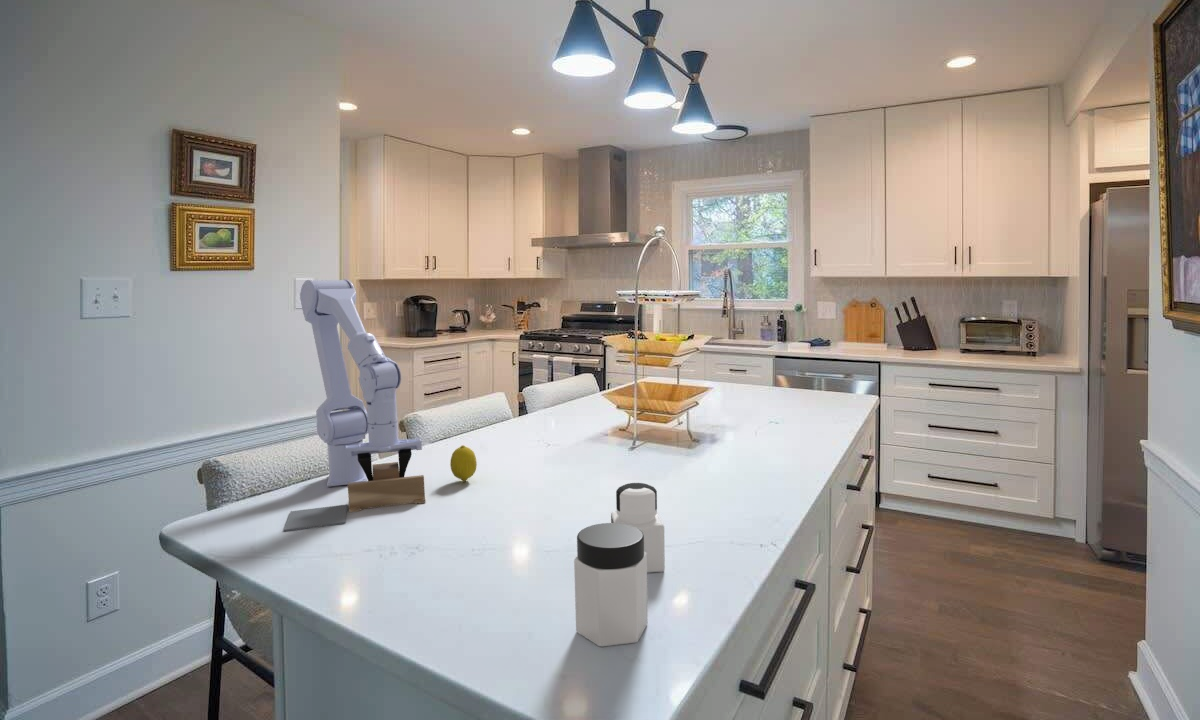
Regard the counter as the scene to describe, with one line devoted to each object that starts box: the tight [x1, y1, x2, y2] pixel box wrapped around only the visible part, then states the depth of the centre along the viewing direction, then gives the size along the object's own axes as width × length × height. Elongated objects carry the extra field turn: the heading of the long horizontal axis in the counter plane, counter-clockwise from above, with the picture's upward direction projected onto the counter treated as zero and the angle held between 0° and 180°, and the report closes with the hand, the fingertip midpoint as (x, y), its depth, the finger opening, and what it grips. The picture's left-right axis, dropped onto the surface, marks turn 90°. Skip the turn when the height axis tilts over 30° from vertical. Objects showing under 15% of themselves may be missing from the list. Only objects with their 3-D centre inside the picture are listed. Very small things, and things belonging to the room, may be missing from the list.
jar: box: [573, 522, 649, 648], centre depth 79 cm, size 9×8×12 cm
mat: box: [283, 503, 348, 532], centre depth 120 cm, size 10×10×1 cm
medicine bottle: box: [610, 482, 666, 574], centre depth 97 cm, size 7×7×12 cm
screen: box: [347, 474, 426, 513], centre depth 126 cm, size 3×14×5 cm, turn 109°
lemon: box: [449, 445, 478, 482], centre depth 140 cm, size 6×6×8 cm
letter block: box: [372, 461, 399, 481], centre depth 132 cm, size 5×5×6 cm
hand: (386, 487), depth 132 cm, fingers closed on letter block, 5 cm apart
